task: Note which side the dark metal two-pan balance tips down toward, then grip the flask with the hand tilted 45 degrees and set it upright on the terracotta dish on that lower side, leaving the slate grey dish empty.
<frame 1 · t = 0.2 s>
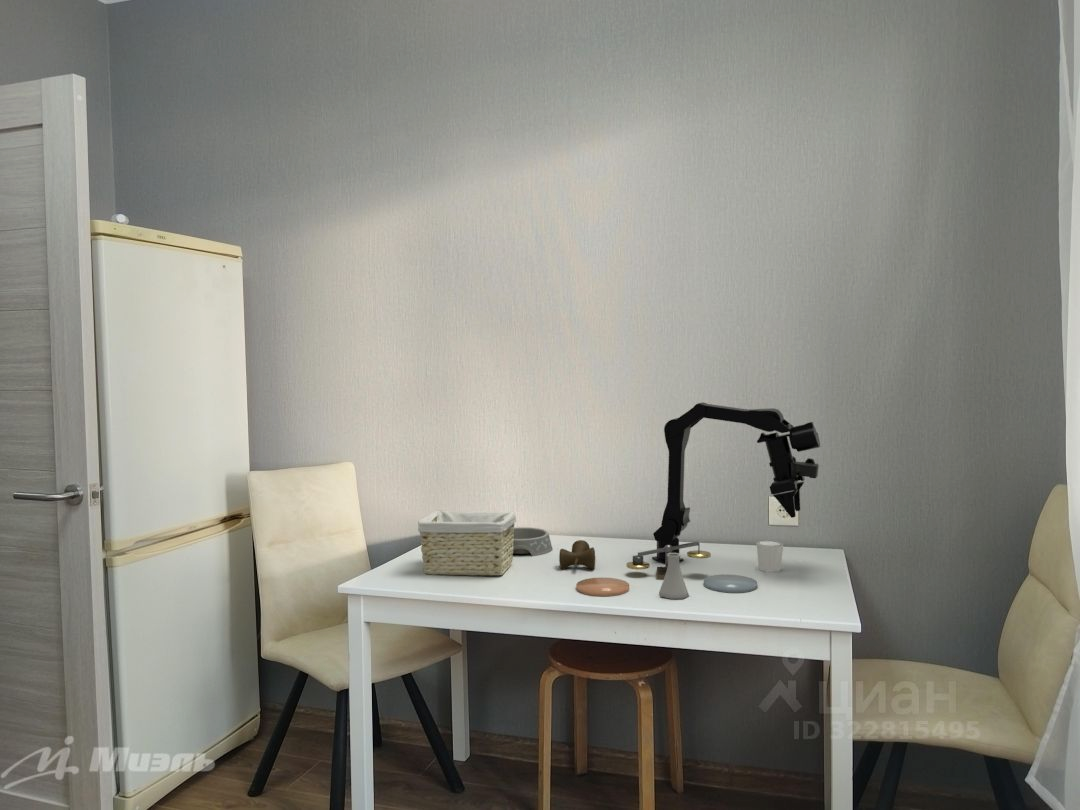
hand: (795, 514, 215), 15 cm above the table, tool pointing down, fingers open, 9 cm apart
slate dish: (730, 585, 205), on the table
white cup: (769, 569, 219), on the table
balance: (668, 575, 215), on the table
flask: (673, 596, 197), on the table
dog bowl: (521, 551, 246), on the table
storage basket: (468, 570, 224), on the table
kendama: (578, 566, 227), on the table
terracotta dish: (602, 588, 203), on the table
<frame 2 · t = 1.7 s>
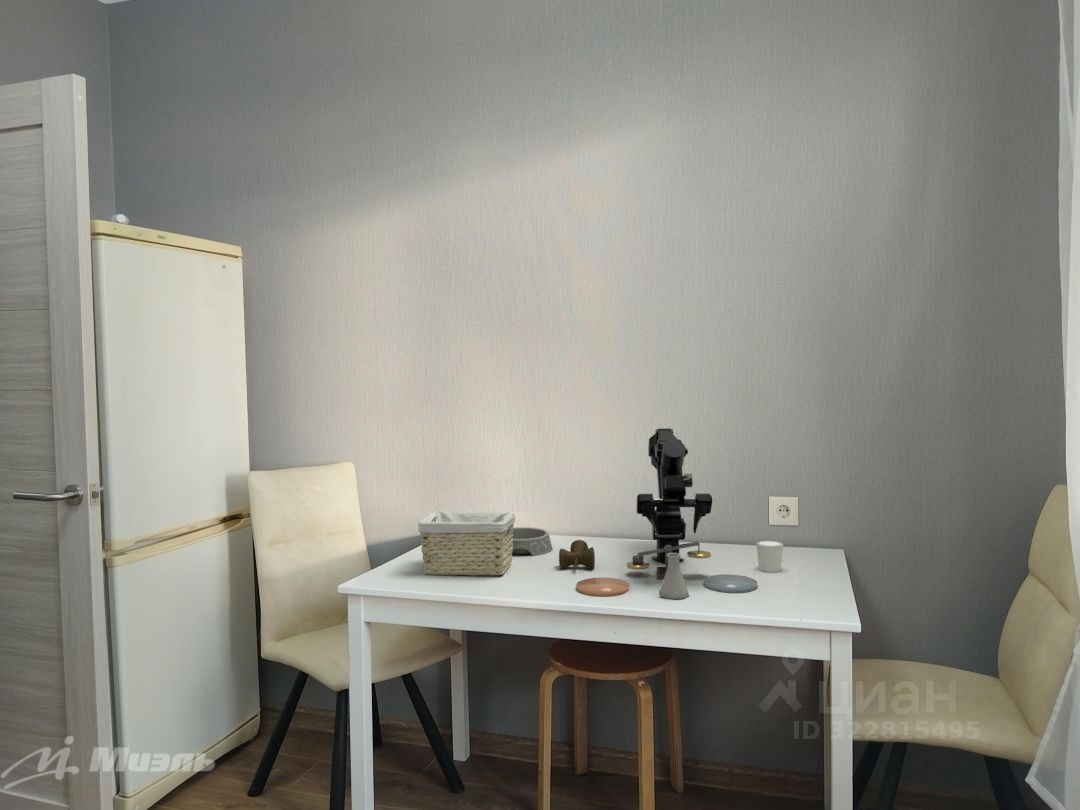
hand: (676, 532, 204), 13 cm above the table, tool tilted 45°, fingers open, 9 cm apart
nothing on the table moved.
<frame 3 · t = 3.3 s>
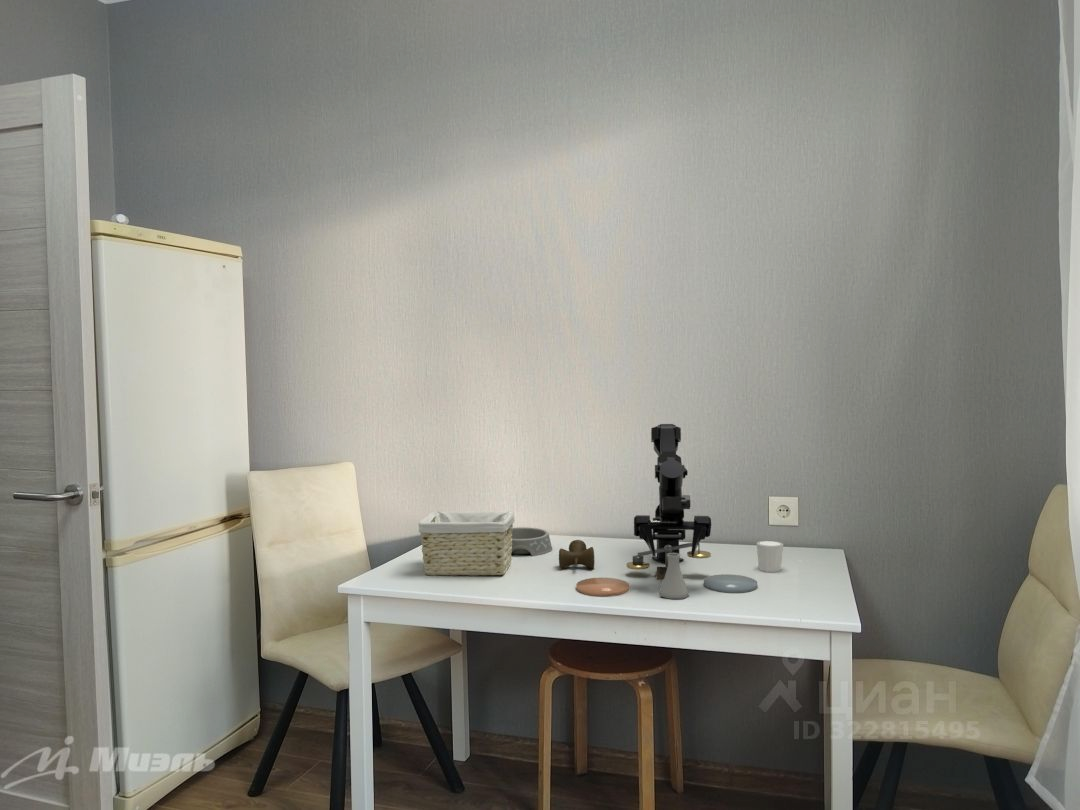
hand: (673, 555, 198), 9 cm above the table, tool tilted 45°, fingers open, 9 cm apart
nothing on the table moved.
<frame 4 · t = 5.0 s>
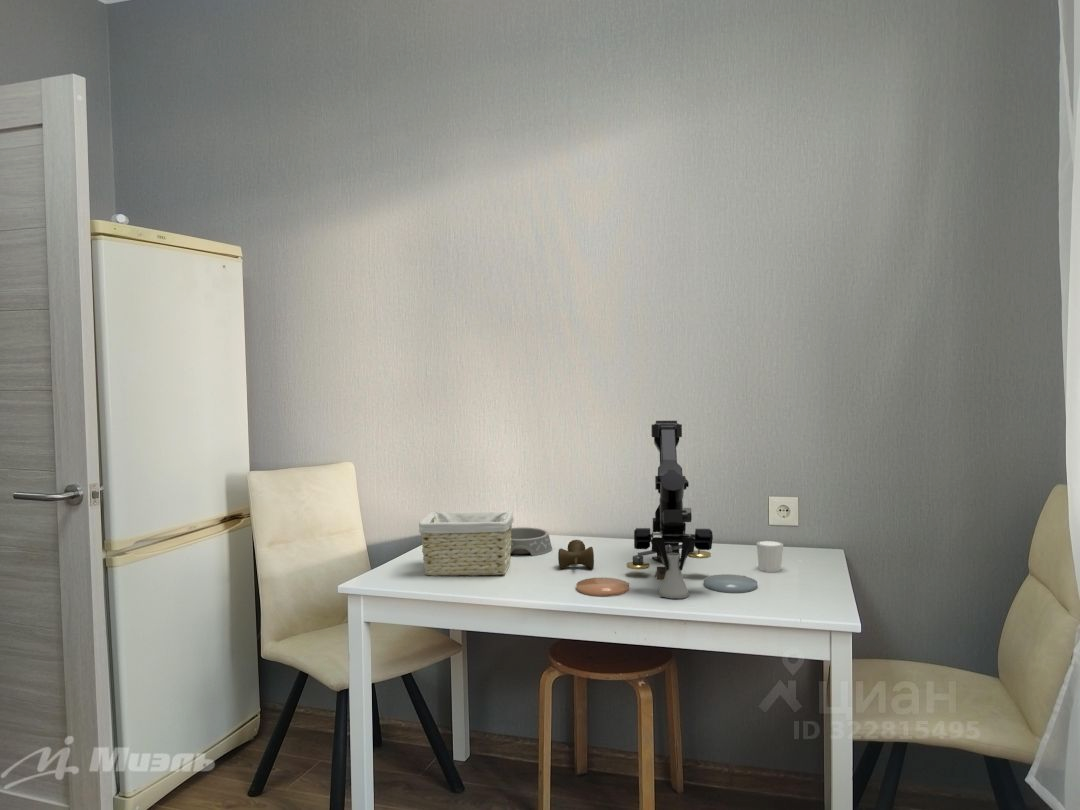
hand: (674, 569, 195), 7 cm above the table, tool tilted 45°, fingers closed on flask, 3 cm apart
flask: (673, 596, 197), on the table, touching gripper
everything else where it was.
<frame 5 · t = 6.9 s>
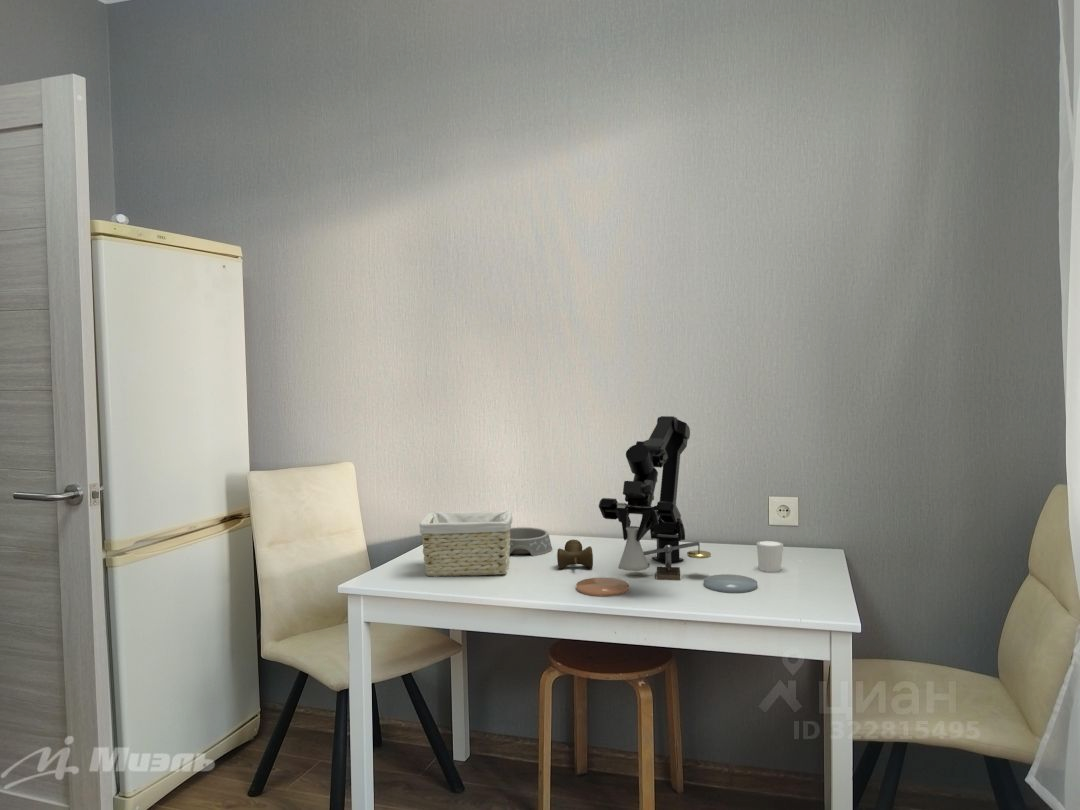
hand: (631, 539, 198), 13 cm above the table, tool tilted 45°, fingers closed on flask, 3 cm apart
flask: (633, 569, 199), point 6 cm above the table, touching gripper
when the fingers open (9 cm above the table, at t = 8.8 s): flask stays where it is, resting on terracotta dish.
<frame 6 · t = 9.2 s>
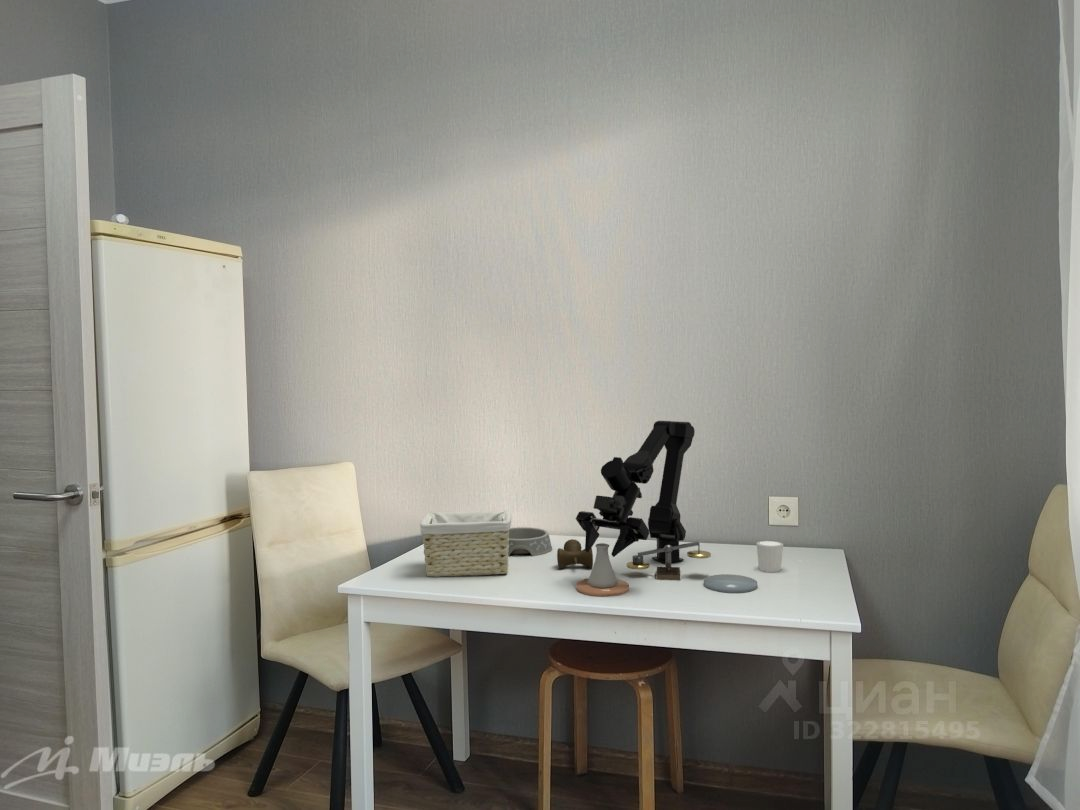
hand: (599, 553, 202), 9 cm above the table, tool tilted 45°, fingers open, 7 cm apart
flask: (602, 585, 203), point 1 cm above the table, touching terracotta dish
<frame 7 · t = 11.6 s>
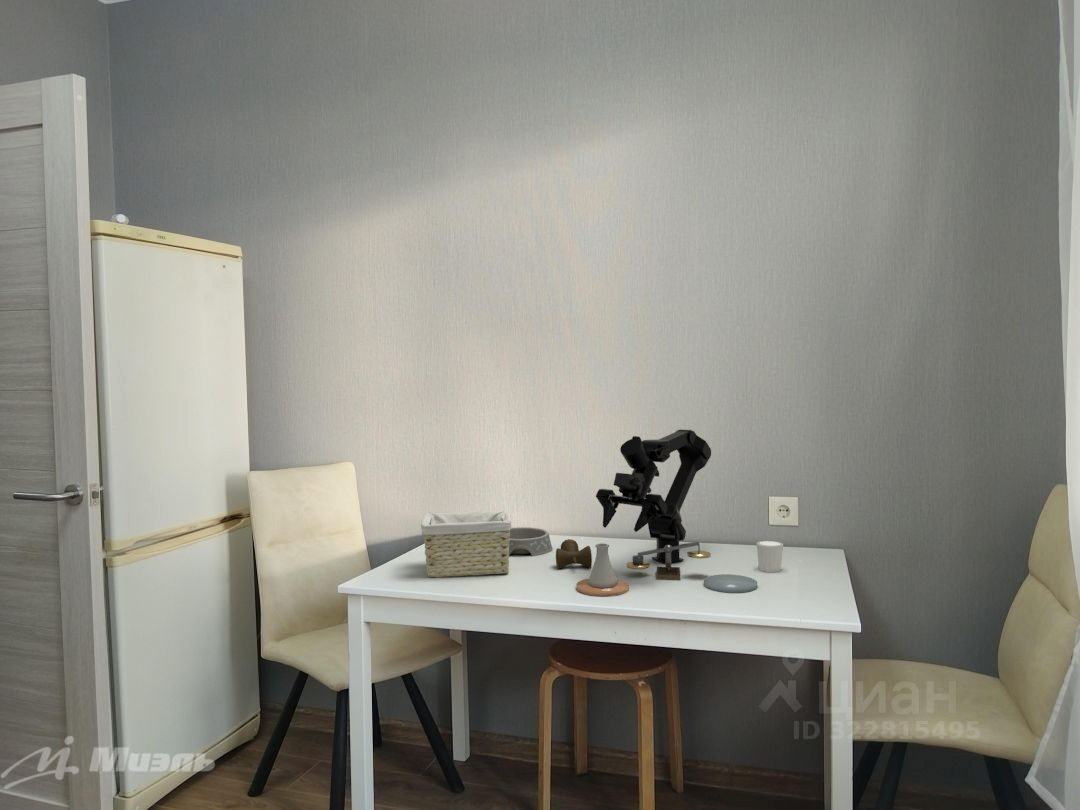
hand: (619, 528, 209), 13 cm above the table, tool tilted 45°, fingers open, 9 cm apart
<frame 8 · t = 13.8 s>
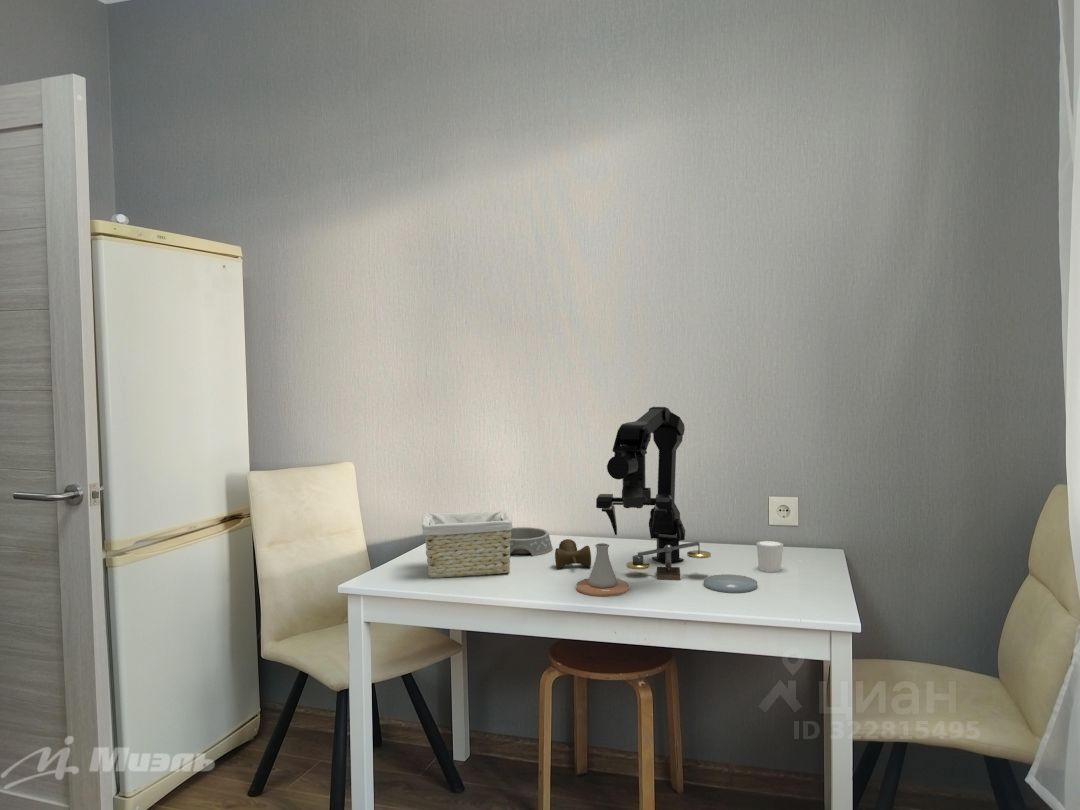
hand: (634, 535, 208), 12 cm above the table, tool pointing down, fingers open, 9 cm apart
at the end: flask inside the target area on the terracotta dish (0.0 cm from its centre), point 0.8 cm above the terracotta dish's base; flask tilted 0°; the gripper is holding nothing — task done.
